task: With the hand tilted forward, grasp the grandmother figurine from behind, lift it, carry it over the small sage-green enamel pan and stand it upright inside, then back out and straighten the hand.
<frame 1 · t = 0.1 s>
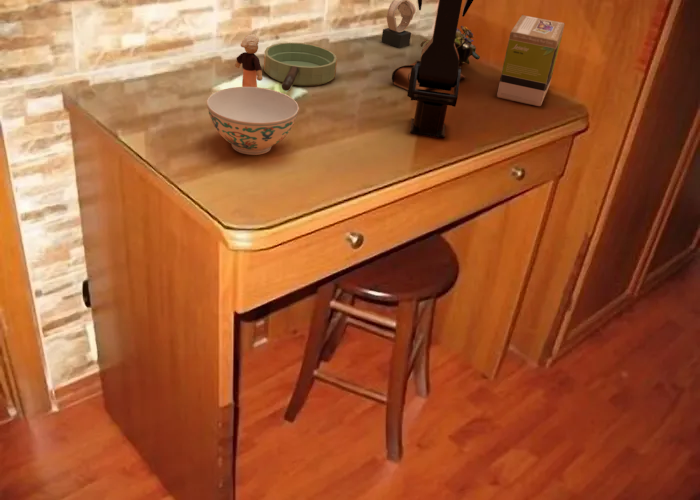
hand: (441, 12, 155), 15 cm above the table, tool pointing down, fingers open, 9 cm apart
chinaware: (251, 147, 125), on the table
sunglasses case: (429, 82, 162), on the table
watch: (395, 44, 182), on the table
grandmother figurine: (248, 100, 142), on the table
pan: (299, 73, 157), on the table
tea box: (522, 92, 163), on the table
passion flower: (447, 65, 172), on the table
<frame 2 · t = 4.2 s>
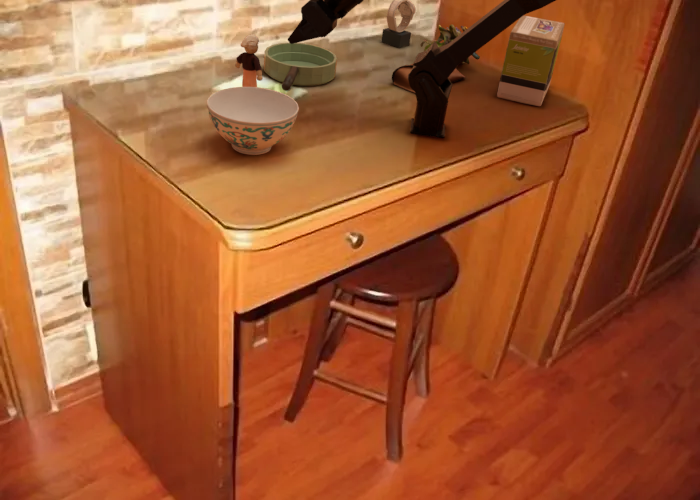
hand: (296, 34, 135), 14 cm above the table, tool tilted 45°, fingers open, 9 cm apart
nothing on the table moved.
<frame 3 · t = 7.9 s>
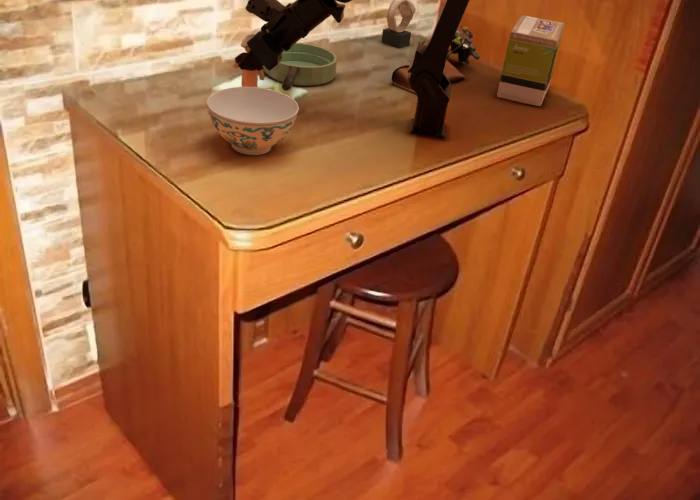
hand: (242, 64, 138), 7 cm above the table, tool tilted 45°, fingers closed on grandmother figurine, 3 cm apart
grandmother figurine: (248, 100, 142), on the table, touching gripper
everything else where it was.
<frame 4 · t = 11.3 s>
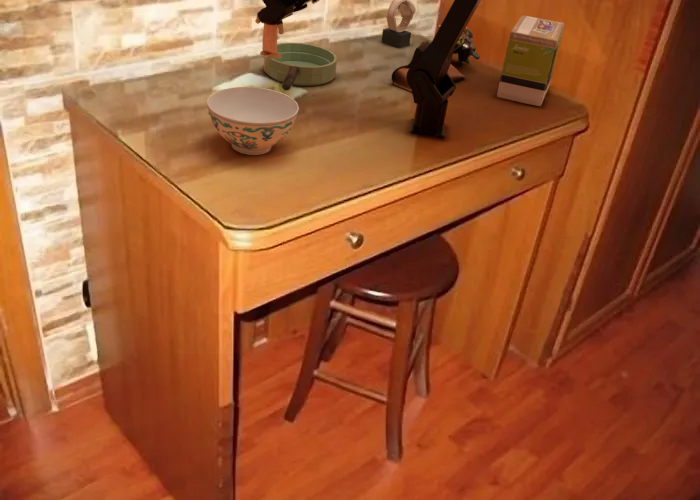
hand: (264, 19, 142), 13 cm above the table, tool tilted 45°, fingers closed on grandmother figurine, 2 cm apart
grandmother figurine: (268, 55, 145), point 6 cm above the table, touching gripper
everything else where it was.
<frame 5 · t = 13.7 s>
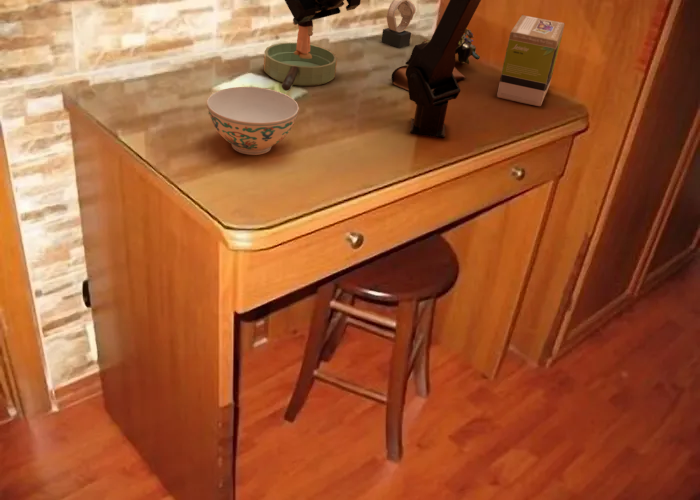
hand: (299, 21, 151), 11 cm above the table, tool tilted 45°, fingers closed on grandmother figurine, 2 cm apart
grandmother figurine: (301, 55, 154), point 4 cm above the table, touching gripper
everything else where it was.
when the fingers open (7 cm above the table, at t = 15.0 s): grandmother figurine stays where it is, resting on pan.
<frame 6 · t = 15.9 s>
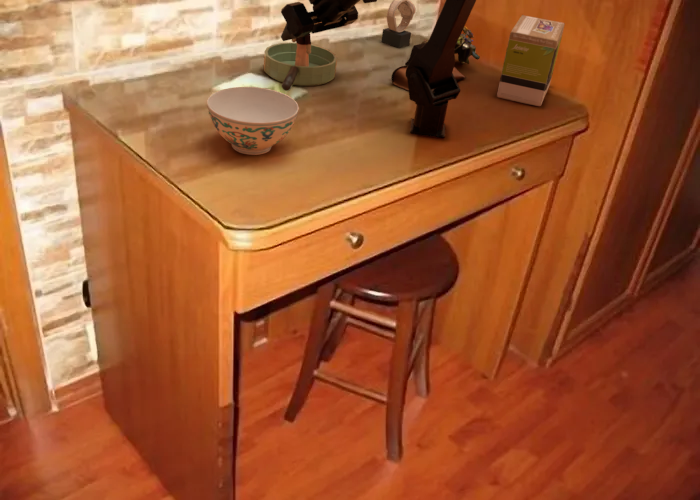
hand: (297, 35, 153), 8 cm above the table, tool tilted 45°, fingers open, 9 cm apart
grandmother figurine: (300, 72, 156), resting on pan
everything else where it was.
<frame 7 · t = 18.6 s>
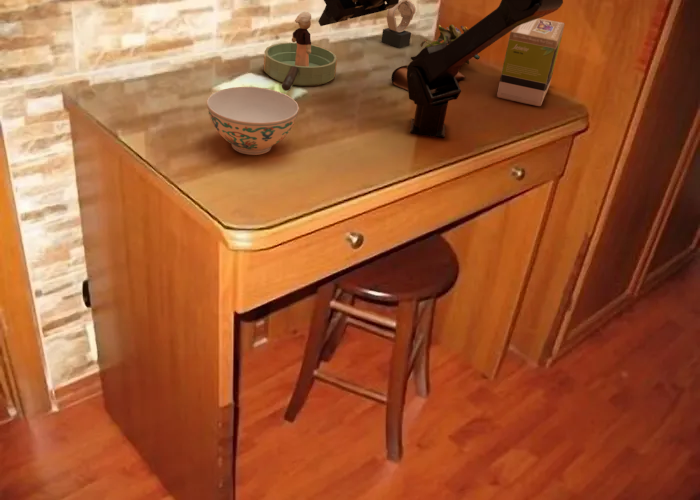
hand: (334, 20, 145), 14 cm above the table, tool tilted 45°, fingers open, 9 cm apart
nothing on the table moved.
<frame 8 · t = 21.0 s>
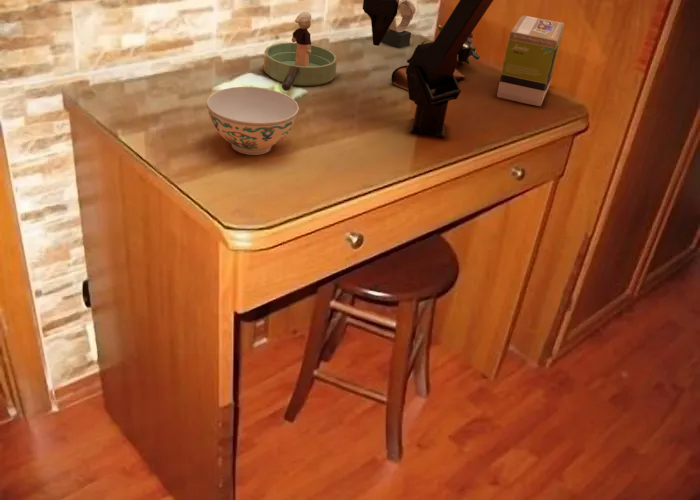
hand: (377, 38, 141), 13 cm above the table, tool pointing down, fingers open, 9 cm apart
nothing on the table moved.
at the end: grandmother figurine inside the target area in the pan (0.2 cm from its centre), point 0.3 cm above the pan's base; grandmother figurine tilted 0°; the gripper is holding nothing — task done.
